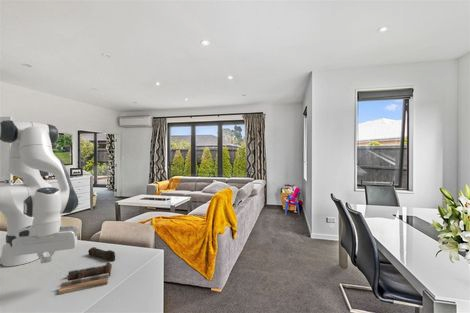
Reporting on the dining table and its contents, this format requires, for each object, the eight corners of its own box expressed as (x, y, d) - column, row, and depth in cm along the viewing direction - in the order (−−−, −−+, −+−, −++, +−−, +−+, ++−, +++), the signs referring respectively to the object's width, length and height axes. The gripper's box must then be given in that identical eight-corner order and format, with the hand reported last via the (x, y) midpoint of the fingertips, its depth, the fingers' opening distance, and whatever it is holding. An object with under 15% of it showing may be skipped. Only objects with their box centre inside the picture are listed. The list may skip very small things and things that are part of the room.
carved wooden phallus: (87, 256, 115) (87, 247, 115) (95, 253, 118) (95, 244, 118) (109, 264, 106) (109, 254, 106) (117, 260, 110) (117, 251, 110)
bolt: (69, 286, 90) (110, 276, 96) (66, 286, 86) (109, 275, 92) (70, 271, 92) (110, 262, 99) (67, 270, 88) (109, 261, 95)
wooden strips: (71, 273, 97) (71, 267, 97) (112, 266, 103) (112, 260, 103) (58, 294, 82) (58, 287, 82) (107, 284, 88) (107, 278, 88)
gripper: (79, 223, 94) (79, 254, 94) (18, 228, 86) (17, 262, 86) (75, 227, 88) (75, 261, 88) (9, 233, 80) (8, 270, 80)
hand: (46, 262), depth 87 cm, fingers closed
